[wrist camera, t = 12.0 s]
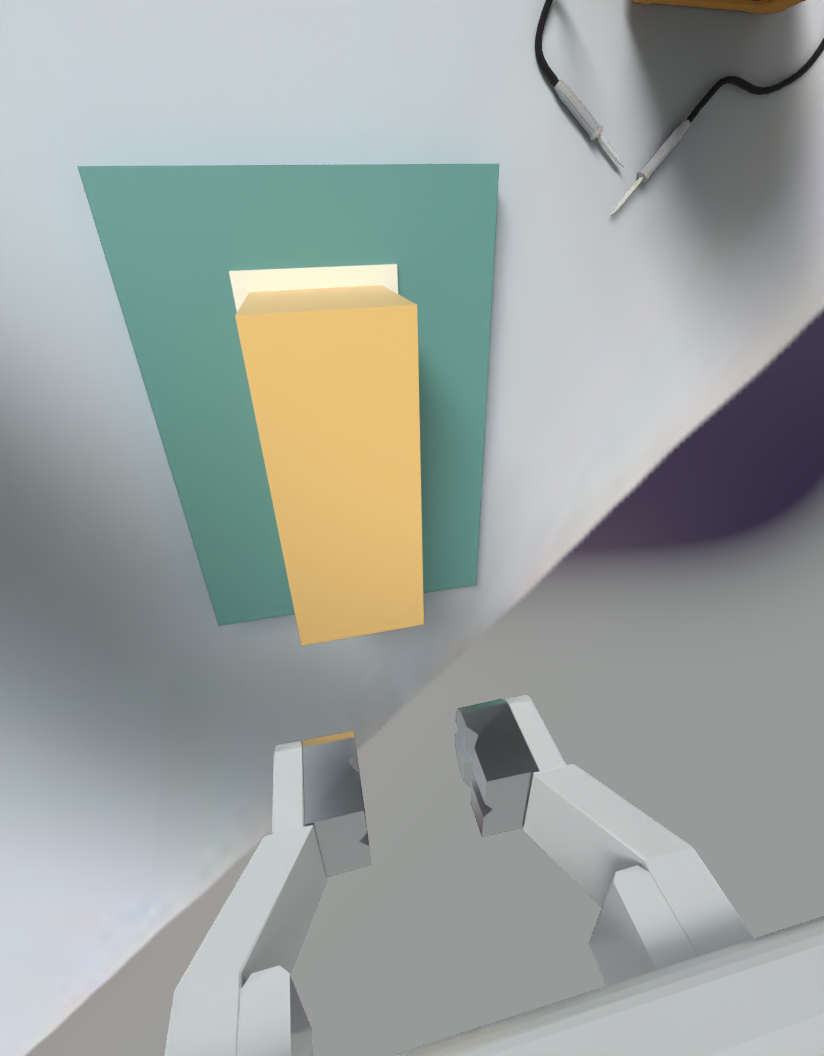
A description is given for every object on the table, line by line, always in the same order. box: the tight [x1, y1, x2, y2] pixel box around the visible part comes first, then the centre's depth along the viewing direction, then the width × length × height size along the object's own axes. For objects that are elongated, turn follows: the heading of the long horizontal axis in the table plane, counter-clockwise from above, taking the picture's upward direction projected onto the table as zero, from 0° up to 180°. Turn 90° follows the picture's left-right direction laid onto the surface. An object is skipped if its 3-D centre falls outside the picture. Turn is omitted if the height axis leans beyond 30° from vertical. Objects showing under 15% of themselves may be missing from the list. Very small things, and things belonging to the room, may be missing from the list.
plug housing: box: [235, 285, 424, 646], centre depth 22 cm, size 14×6×7 cm, turn 2°
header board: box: [77, 164, 499, 626], centre depth 23 cm, size 22×16×6 cm
